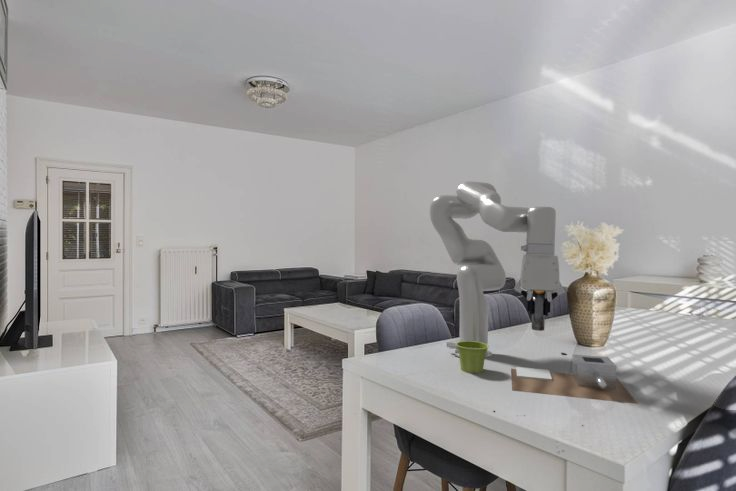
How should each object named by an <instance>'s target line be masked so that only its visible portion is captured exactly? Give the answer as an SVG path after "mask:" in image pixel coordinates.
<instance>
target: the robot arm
mask: <svg viewBox="0 0 736 491" xmlns="http://www.w3.org/2000/svg"><path fill="white" fill-rule="evenodd" d="M477 215H480V218H481V220H482V222H484V224H486V225H488V226H489V227H491V228H493V229H494V230H497V231H500V232H503V233H523V234H524V233H526V240H525V241H526V242H525V245H521V246H520V251H523V252H525V254H523V256H522V260H521V268H520V275H519V276H520V278H519V279H518V281H517V283H516V284H515V286H514V287H513V289H514V291H515V292H517V293H519V294H521V295H522V296H523V297H524V298H525V300H526V312H528V313H529V316H532V314H533V301H532V297H533V290H536V291H546V294H545V317H548V316H549V314H548V313H551V304H552V303H551V302H552V301H553V300H554V299H555V298H557V297H558V296H560V295H563V294H564V293H566V290H565V289H564V286H563V285H562V284H561V281H560V263H559V256H558V255H556V254H555V251H556V250H555V248H556V221H557V220H556V218H557V217H556V215H557V213H556V209H555V208H553V206H552V207H551V206H532V207H522V206H521V207H520V206H507V205H504V204H502V199H501V195H500V194H499V193H498V192H497V189H496V188H495V186H494V185H492V183H489V182H481V181H470V180H469V181H464V182H462V183H461V184H460V185H458V186H457V188H456V190H455V195H452V194H451V195H450V194H447V195H446V194H444V195H439V196H436V197H435V198H434V199H432V201H431V203H430V206H429V217H430V218H429V219H430V220H431V221H430V222H431V223H432V226H433V227H434V228H433V229H435V231H436V232H437V233H438V235H439V236H440V239H441V240H442V243H443V246H444V247H445V250H446V252H447V253H448V256H449V257H450V259H451V261H452V262H453V264H455V265H456V266H461V267H460V268H459V269H458V271H457V273H456V283H457V288H458V296H459V297H458V298H459V339H458V341H455V342H452V341H447V342H446V348H449V349H450V350H451V349H453V350H454V349H455V351H454V355H455V356H456V357H458V358H460V357H459V351H458V347H457V346H456V343H457V342H461V341H475V342H481V343H485V344H487V345H488V346H489V304H488V303H489V302H488V300H487V298H486V296H485V293H484V292H492V291H498V290H501V289H502V288H504V286H505V285H506V282H507V281H506V280H507V276H506V272H505V270H504V267H503V265H502V263H501V261H500V259H499V258H498V256H497V254H496V253H495V251H494V249H493V247H492V246H491V244H490V243H488V242H487V241H485V240H483V239H472V238H469V237H468V236H467V234H466V233H465V231H464V229H463V227H462V226H461V225H460V224H459V223H458V222H457V221H455V220H454V219H461V220H462V219H463V220H465V219H466V220H467V219H471V218H473V217H476V216H477ZM492 355H493V352H492V351H489V347H488V348H487V352H486V354H485V358H488V357H491V356H492Z"/></svg>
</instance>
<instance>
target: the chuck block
mask: <svg viewBox="0 0 736 491" xmlns="http://www.w3.org/2000/svg"><path fill="white" fill-rule="evenodd" d="M571 370H572V372H571V374H572V376H573V378H574V380H575V382H576V384H577V385H578V386H588V387H598V388H602V389H605V388H608V389H616V378H617V365H616V364H615V363H614V362H613V361H612V360H611V359H610V358H609V357H608V356H598V355H585V354H572V369H571Z"/></svg>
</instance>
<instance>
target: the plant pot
mask: <svg viewBox="0 0 736 491" xmlns="http://www.w3.org/2000/svg"><path fill="white" fill-rule="evenodd" d="M456 342H457V343H456ZM456 342H455V343H456V346H457V347H458V351H459V357H458V358H459V364H460V371H462V372H464V373H470V374H481V373H483V371H484V366H485V359H486V357H485V354H486V352H487V348H488V349H489V344H488V345H487V344H485V343H481V342H475V341H461V342H459V341H456Z"/></svg>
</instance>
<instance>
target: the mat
mask: <svg viewBox="0 0 736 491" xmlns="http://www.w3.org/2000/svg"><path fill="white" fill-rule="evenodd" d="M515 369H516V372H517V378H528V379H538V380H549V381H552V377H551V375H550V372H551V371H550V370H549V369H545V368H544V369H543V368H533V367H532V368H531V367H523V366H522V367H521V366H516V367H515Z"/></svg>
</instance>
